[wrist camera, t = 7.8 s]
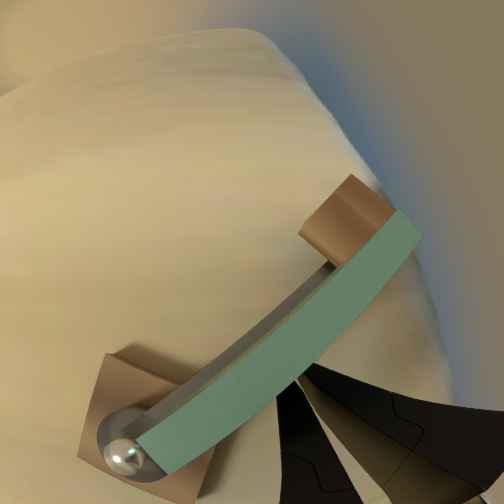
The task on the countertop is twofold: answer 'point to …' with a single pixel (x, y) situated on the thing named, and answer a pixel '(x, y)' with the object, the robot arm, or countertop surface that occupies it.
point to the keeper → (345, 220)
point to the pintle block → (137, 393)
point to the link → (254, 363)
